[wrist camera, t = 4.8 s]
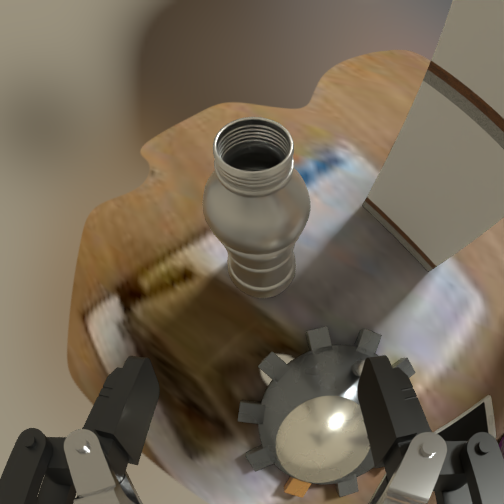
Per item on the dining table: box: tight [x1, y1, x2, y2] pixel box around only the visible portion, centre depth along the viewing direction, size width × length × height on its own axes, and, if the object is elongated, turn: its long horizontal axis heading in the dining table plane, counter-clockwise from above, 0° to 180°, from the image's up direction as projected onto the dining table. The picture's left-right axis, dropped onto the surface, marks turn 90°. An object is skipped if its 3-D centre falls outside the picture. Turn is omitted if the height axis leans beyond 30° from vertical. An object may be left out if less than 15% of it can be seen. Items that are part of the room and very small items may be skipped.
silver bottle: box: [203, 117, 310, 298], centre depth 22 cm, size 6×7×20 cm
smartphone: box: [433, 395, 496, 441], centre depth 22 cm, size 8×1×15 cm
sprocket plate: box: [238, 326, 415, 498], centre depth 24 cm, size 19×18×4 cm
